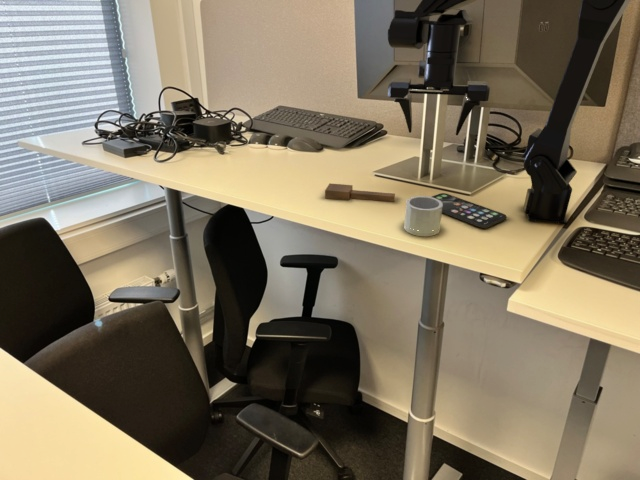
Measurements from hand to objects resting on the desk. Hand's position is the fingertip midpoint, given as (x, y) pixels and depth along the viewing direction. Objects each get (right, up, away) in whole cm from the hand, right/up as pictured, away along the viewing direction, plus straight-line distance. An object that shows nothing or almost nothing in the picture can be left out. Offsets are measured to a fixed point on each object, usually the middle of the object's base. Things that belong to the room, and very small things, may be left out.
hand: (433, 133), depth 94 cm
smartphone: (+4, -16, -5) cm, 17 cm away
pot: (-5, -20, -11) cm, 23 cm away
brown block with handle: (-15, -13, +2) cm, 20 cm away
